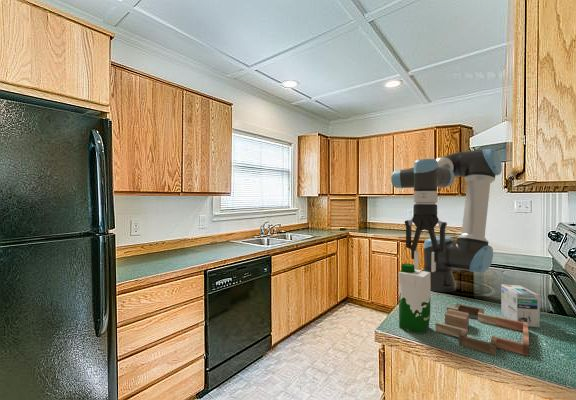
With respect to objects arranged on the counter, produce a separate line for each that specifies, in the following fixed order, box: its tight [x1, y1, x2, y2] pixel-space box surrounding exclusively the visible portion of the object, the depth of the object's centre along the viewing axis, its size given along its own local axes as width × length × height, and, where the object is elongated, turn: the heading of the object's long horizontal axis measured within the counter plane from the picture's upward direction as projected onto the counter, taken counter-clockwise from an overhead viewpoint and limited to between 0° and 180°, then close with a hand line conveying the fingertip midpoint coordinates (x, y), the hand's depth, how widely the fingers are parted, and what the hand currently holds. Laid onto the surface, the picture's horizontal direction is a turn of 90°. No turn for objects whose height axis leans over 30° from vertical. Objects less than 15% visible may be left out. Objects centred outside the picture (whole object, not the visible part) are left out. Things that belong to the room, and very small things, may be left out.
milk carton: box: [397, 263, 432, 335], centre depth 94 cm, size 9×9×20 cm
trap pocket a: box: [454, 303, 485, 321], centre depth 104 cm, size 5×8×2 cm, turn 51°
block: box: [444, 309, 470, 330], centre depth 96 cm, size 6×6×4 cm
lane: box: [434, 305, 530, 357], centre depth 92 cm, size 18×23×2 cm
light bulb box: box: [500, 283, 541, 328], centre depth 100 cm, size 11×7×11 cm, turn 168°
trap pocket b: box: [458, 330, 498, 356], centre depth 82 cm, size 5×8×2 cm, turn 51°
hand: (424, 269), depth 102 cm, fingers open, 5 cm apart
